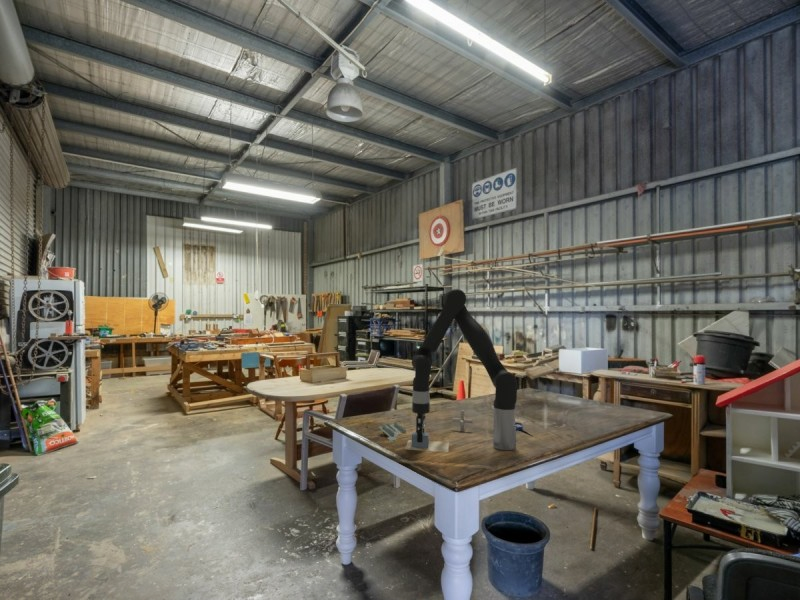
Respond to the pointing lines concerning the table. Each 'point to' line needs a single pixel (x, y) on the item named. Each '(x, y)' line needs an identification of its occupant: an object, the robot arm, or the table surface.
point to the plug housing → (424, 443)
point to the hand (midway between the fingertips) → (420, 439)
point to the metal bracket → (392, 430)
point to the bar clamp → (519, 426)
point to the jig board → (430, 446)
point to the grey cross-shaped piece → (462, 420)
